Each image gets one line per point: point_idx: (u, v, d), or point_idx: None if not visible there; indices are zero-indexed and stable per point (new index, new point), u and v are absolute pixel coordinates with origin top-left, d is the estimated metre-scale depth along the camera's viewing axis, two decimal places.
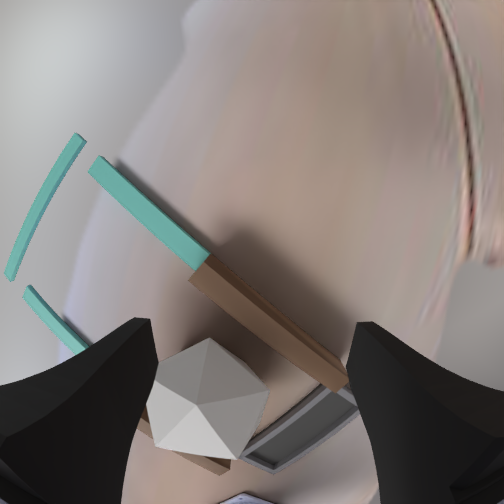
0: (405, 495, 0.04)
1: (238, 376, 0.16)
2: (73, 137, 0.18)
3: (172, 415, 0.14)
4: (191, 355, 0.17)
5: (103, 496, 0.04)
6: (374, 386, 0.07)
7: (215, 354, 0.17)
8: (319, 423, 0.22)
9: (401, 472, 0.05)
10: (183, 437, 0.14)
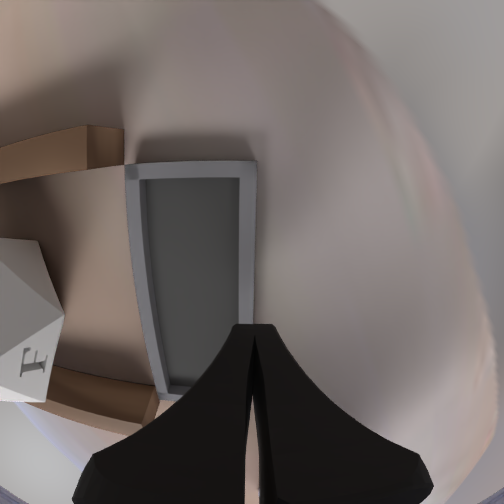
0: None
1: None
2: None
3: None
4: None
5: None
6: (257, 393, 0.07)
7: None
8: (211, 265, 0.12)
9: (262, 493, 0.05)
10: None
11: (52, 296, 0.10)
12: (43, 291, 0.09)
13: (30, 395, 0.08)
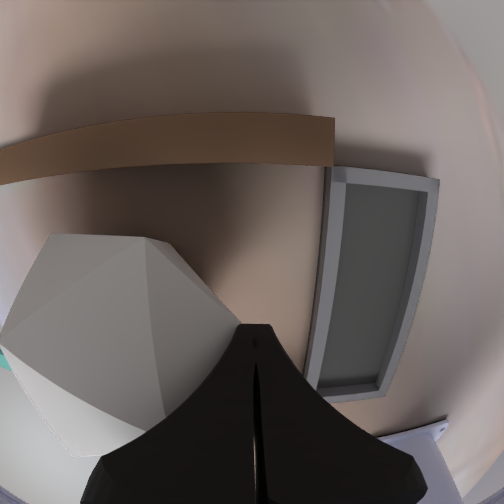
0: None
1: (79, 252, 0.07)
2: None
3: None
4: None
5: None
6: (253, 393, 0.07)
7: (51, 247, 0.08)
8: (387, 267, 0.12)
9: (257, 492, 0.05)
10: (60, 423, 0.06)
11: (229, 311, 0.10)
12: (223, 306, 0.10)
13: None
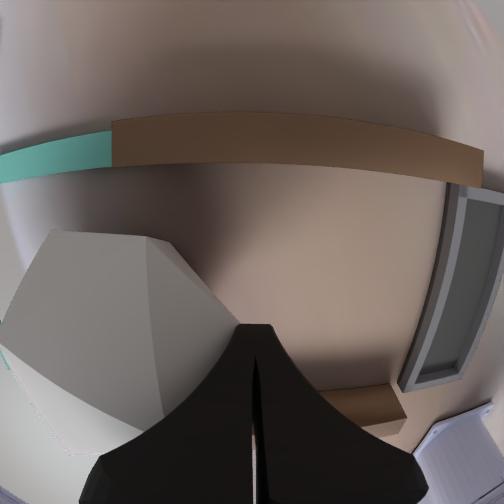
0: None
1: (79, 250, 0.07)
2: None
3: None
4: None
5: None
6: (254, 393, 0.07)
7: (51, 244, 0.08)
8: (478, 267, 0.12)
9: (258, 492, 0.05)
10: (57, 422, 0.06)
11: (229, 312, 0.10)
12: (222, 307, 0.10)
13: None
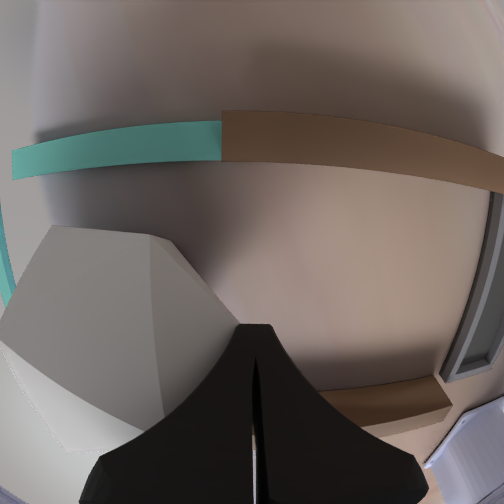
0: None
1: (81, 247, 0.07)
2: None
3: None
4: None
5: None
6: (254, 393, 0.07)
7: (52, 240, 0.08)
8: None
9: (258, 492, 0.05)
10: (55, 420, 0.06)
11: (229, 312, 0.10)
12: (223, 307, 0.09)
13: None
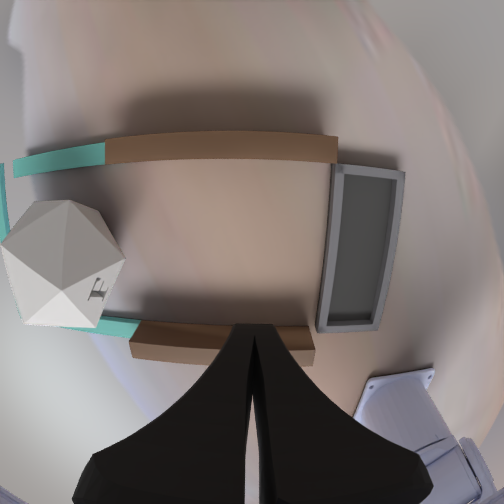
0: None
1: (43, 208, 0.14)
2: None
3: None
4: None
5: None
6: (257, 393, 0.07)
7: (32, 207, 0.14)
8: (372, 229, 0.19)
9: (262, 493, 0.05)
10: (20, 292, 0.12)
11: (116, 246, 0.16)
12: (111, 241, 0.16)
13: (89, 317, 0.15)
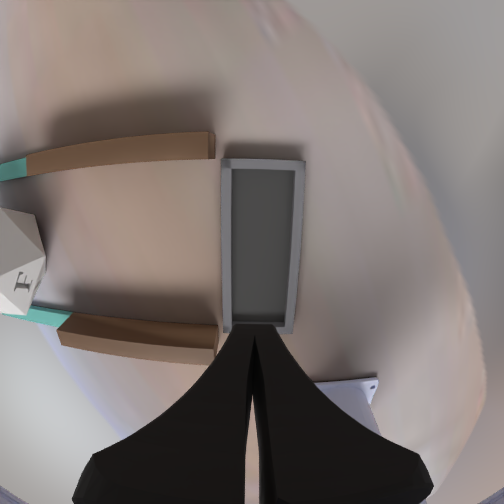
0: None
1: None
2: None
3: None
4: None
5: None
6: (257, 393, 0.07)
7: None
8: (273, 225, 0.18)
9: (262, 493, 0.05)
10: None
11: (39, 245, 0.16)
12: (35, 241, 0.16)
13: (17, 306, 0.15)
